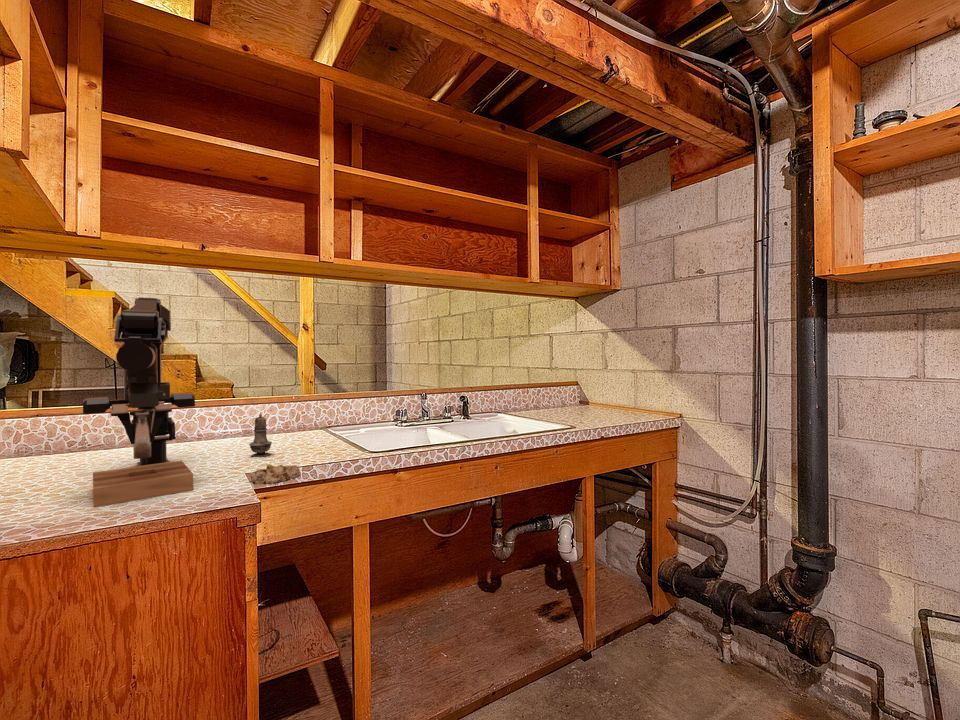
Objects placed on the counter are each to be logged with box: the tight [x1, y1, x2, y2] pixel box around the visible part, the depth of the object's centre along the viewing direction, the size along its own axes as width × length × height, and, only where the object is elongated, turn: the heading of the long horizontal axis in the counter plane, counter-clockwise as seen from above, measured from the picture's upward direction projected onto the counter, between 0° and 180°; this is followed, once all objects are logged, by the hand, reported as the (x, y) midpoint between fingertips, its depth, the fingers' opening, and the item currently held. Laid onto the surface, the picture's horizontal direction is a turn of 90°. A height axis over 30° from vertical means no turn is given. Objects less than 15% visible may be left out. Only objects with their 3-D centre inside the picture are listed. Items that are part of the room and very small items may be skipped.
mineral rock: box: [249, 464, 300, 485], centre depth 103 cm, size 11×4×8 cm
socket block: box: [92, 460, 194, 508], centre depth 96 cm, size 16×16×4 cm
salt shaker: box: [248, 413, 273, 458], centre depth 127 cm, size 6×6×12 cm
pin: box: [129, 409, 153, 460], centre depth 95 cm, size 4×4×10 cm
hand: (142, 443), depth 96 cm, fingers closed on pin, 3 cm apart
